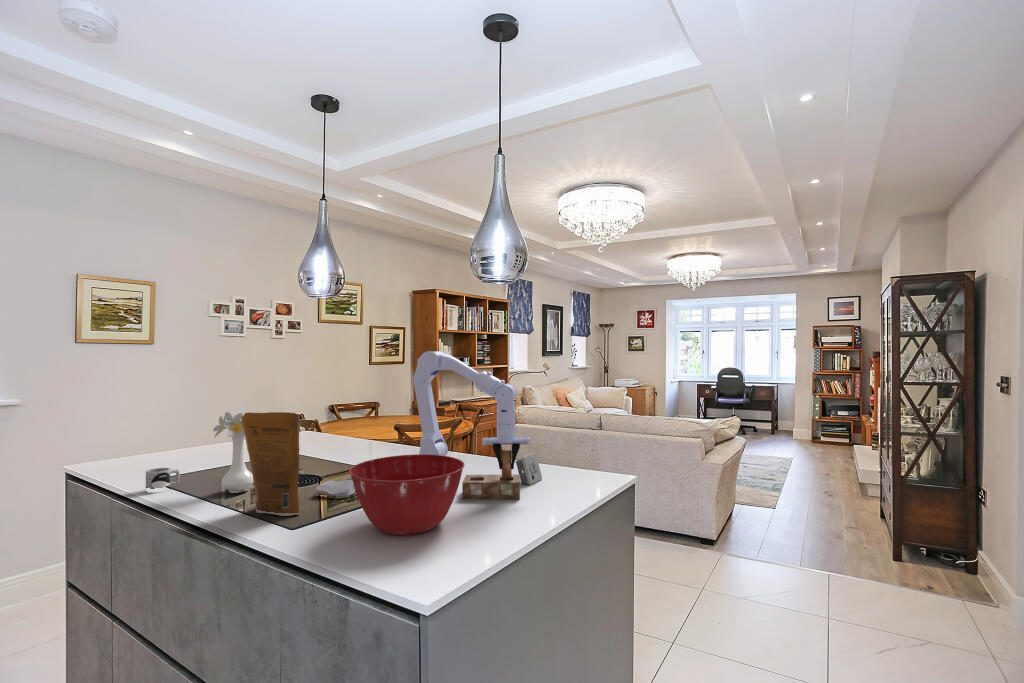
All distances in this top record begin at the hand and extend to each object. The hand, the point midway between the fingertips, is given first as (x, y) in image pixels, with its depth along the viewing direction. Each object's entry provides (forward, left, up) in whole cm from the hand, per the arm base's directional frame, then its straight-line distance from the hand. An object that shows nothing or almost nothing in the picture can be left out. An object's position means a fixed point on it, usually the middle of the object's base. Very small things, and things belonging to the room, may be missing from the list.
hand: (506, 468), depth 162 cm
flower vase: (-85, +6, -8) cm, 86 cm away
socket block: (-5, +1, -8) cm, 9 cm away
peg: (0, 0, -2) cm, 2 cm away
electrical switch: (+7, +17, -8) cm, 20 cm away
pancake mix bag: (-63, -17, -8) cm, 66 cm away
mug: (-112, +9, -8) cm, 113 cm away
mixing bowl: (-24, -28, -8) cm, 38 cm away
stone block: (-53, +1, -9) cm, 53 cm away
